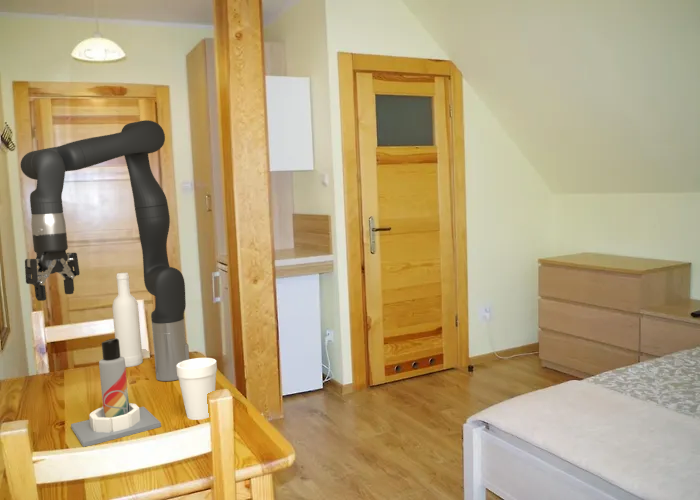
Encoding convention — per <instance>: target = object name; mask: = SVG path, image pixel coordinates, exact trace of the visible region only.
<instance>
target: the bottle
mask: <svg viewBox="0 0 700 500" xmlns="http://www.w3.org/2000/svg"><path fill="white" fill-rule="evenodd" d="M115 279H116V285H117V286H116V287H117V296H116V297H115V298H114V299H113V301H112V305H111V306H112V307H111V308H112V317H113V319H112V321H113V327H114V328H113V329H114V338H117V339H118V340H119V347H120V356H121V357H124V358H125V366H126V368H133V367H137V366H139V365H141V364H143V363H144V362H143V361H144V360H143V357H144V355H143V350H142V337H141V327H140V326H141V325H140V315H139V311H140V310H139V303H138V301H137V299H136V297H135V296H134V295H133V294H131V290H130V289H131V287H130V276H129V272H127V271H125V272H122V271H121V272H117V273H116V277H115Z"/></svg>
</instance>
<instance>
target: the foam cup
mask: <svg viewBox="0 0 700 500" xmlns="http://www.w3.org/2000/svg"><path fill="white" fill-rule="evenodd" d="M176 368H177V376H178V378H179V379H178V382H179V386H180V391H181V394H182V401H183V404H184V408H185V413H186V417H187V418H188V420H191V421H192V420H194V421H195V420H199V421H200V420H205V419H208V418H210V417H209V413H208V404H207V394H208V393H210V392H212V391H215V392H216V381H217V372H218V364H217V360H216V359H215V358H212V357H196V358H189V360H185V361H182V362H180V363H178V364H177V366H176Z"/></svg>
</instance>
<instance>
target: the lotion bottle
mask: <svg viewBox="0 0 700 500" xmlns="http://www.w3.org/2000/svg"><path fill="white" fill-rule="evenodd" d="M101 350H102V351H101V352H102V358H101V359H100V360H99V362H98V365H99V366H98V368H99V376H100V377H99V378H100V387H101V388H100V389H101V390H100V391H101V400H102V407H103V411H104V418H112V417H116V416H120V415H124V414H127V413H128V412H130V411H129V403H130V402H129V390H128V380H127V367H126V366H125V358H124V357H121V356H120V347H119V340H118V339H117V338H115V337H114V338H109V339H107V340H104V341H102V342H101Z"/></svg>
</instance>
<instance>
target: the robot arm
mask: <svg viewBox="0 0 700 500" xmlns="http://www.w3.org/2000/svg"><path fill="white" fill-rule="evenodd" d="M165 135H166V133H165V131H164V129H163V128H162V126H161V125H160V124H159V123H157V122H156V121H154V120H147V119H146V120H140V121H134V122H129V123H127V124H125V125H124V126H123V127H122V129H121V130H120V132H115V133H110V134H106V135H100V136H95V137H94V136H93V137H89V138H83V139H80V140H76V141H71V142H68V143H64V144H62V145H58V146H55V147H54V146H53V147H47V148H42V149H37V150H32V151H29V152H28V153H26V154H24V155H23V157H22V158H21V161H20V169H21V171H22V174H23V175H25V176H26V177H28V178H29V179H31V180H36V188H35V189H34V190H33V191H31V193H30V195H29V203H30V211H31V212H30V214H31V221H30V222H31V224H30V225H31V233H32V244H33V245H32V246H33V252H34V253H35V254H36V257H35V258H26V259H24V270H25V271H24V273H25V284H27V285H32V286H34V295H35V299H37V301H38V302H40V301H41V302H43V301H46V300H47V292H46V285H45V282H46V280H47V278H49V277H50V275H52V274H55V273H58V274H60V276H61V277H63V288H64V290H63V291H64V294H65V295H73V294H74V291H75V285H74V283H75V282H74V279H75V277H76V276H79V275H80V266H79V261H78V260H79V259H78V253H77V252H66V251H67V250H68V245H69V244H68V237H67V226H66V224H67V223H66V219H65V216H64V207H63V198H62V196H63V190H64V185H65V184H64V182H65V178H66V177H65V176H66V172H73V171H78V170H79V171H80V170H82V169H85V168H88V167H89V168H91V167H93V166H96V165H99V164H102V163H105V162H108V161H112V160H114V159H117V158H121V157H124V159H125V163H126V167H127V171H128V175H129V180H130V186H131V191H132V197H133V206H134V211H135V213H134V214H135V217H136V218H135V219H136V222H137V228H138V230H137V231H138V235H139V240H140V241H139V242H140V247H141V251H142V261H143V262H142V266H143V267H142V269H143V281H144V286H145V289H146V290H147V292H148V293H149V294H150V295H152V296H153V297H154V298H155V299H154V300H155V308H154V309H153V311H151V316H150V319H151V331H152V341H153V354H154V365H155V377H156V380H157V381H160V382H171V381H177V380H178V381H179V378H178V376H177V368H176V366H177V364H178V363H180V362H182V361H185V360H189V359H190V350H189V344H188V343H187V341H186V339H187V338H186V328H185V327H186V325H185V314H184V313H185V311H186V306H187V305H186V304H187V303H186V283H185V278H184V276H183V273H182V272H181V271H180V270H179V269H177V268H175V267H172V266H170V264H169V258H168V252H167V242H168V237H169V231H170V226H171V225H170V223H171V219H170V218H171V217H170V211H169V205H168V199H167V197H166V194H165V192H164V190H163V188H162V187H161V185H160V184H159V182H158V181H157V180H156V178H155V175H154V174H153V171H152V168H151V164H150V159H149V154H153V153H156V152H158V151H159V150H161V148H163V146H164V144H165V141H166V139H165V138H166V136H165Z"/></svg>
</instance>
